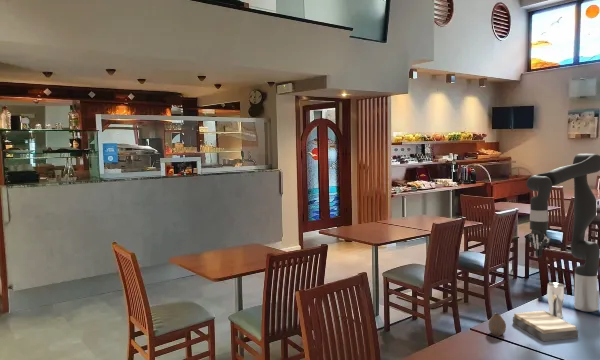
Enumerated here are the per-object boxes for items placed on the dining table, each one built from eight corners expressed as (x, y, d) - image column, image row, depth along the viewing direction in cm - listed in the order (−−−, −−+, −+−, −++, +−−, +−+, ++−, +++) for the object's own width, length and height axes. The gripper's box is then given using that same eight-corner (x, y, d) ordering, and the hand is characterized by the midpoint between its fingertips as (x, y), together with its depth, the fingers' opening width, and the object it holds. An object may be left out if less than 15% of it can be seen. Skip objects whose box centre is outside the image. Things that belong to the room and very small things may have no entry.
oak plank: (528, 324, 197) (528, 321, 197) (559, 321, 200) (559, 318, 199) (543, 333, 188) (543, 330, 188) (576, 330, 190) (576, 326, 190)
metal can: (559, 313, 217) (560, 282, 216) (566, 318, 210) (567, 286, 209) (544, 313, 218) (544, 282, 217) (550, 318, 211) (551, 286, 210)
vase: (491, 329, 201) (491, 310, 200) (507, 333, 197) (507, 313, 196) (486, 334, 196) (486, 314, 195) (503, 338, 191) (503, 318, 191)
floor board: (512, 323, 207) (513, 313, 207) (544, 319, 210) (544, 310, 209) (543, 341, 187) (543, 330, 187) (577, 337, 190) (578, 327, 190)
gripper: (556, 221, 203) (556, 259, 204) (536, 216, 216) (536, 253, 217) (541, 222, 201) (541, 260, 203) (522, 217, 214) (522, 254, 216)
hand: (538, 256), depth 210 cm, fingers closed
